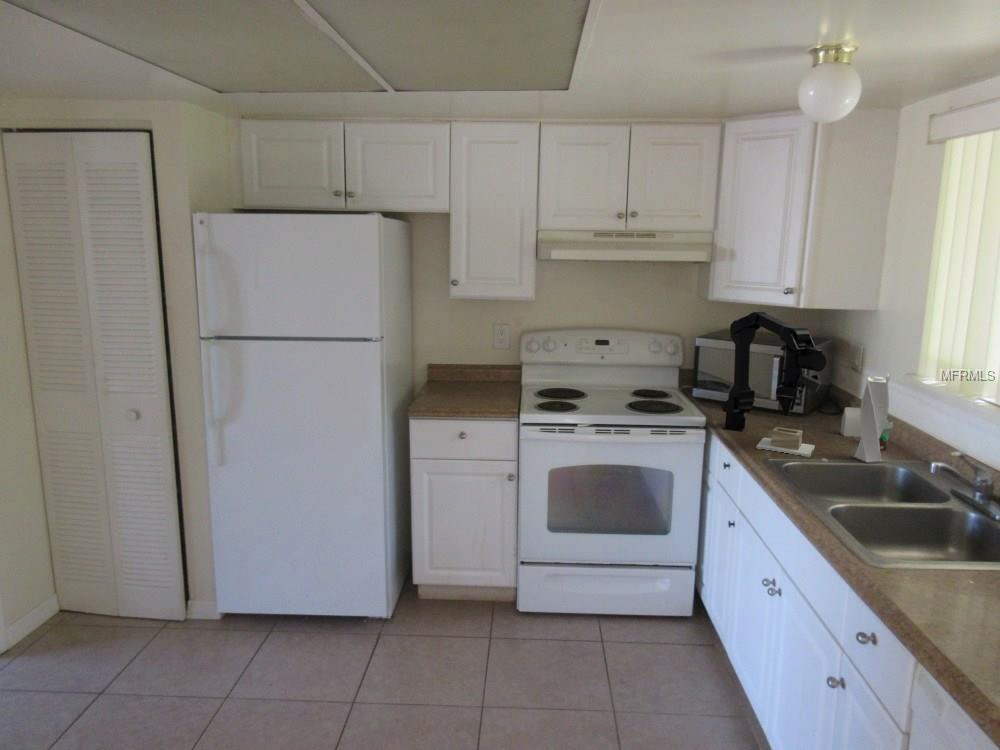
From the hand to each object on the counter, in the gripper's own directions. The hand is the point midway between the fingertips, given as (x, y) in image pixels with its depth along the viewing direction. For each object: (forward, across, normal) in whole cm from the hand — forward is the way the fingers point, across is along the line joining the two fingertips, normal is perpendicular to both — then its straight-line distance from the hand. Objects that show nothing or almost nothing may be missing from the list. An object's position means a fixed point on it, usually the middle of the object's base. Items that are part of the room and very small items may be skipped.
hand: (788, 413), depth 216 cm
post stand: (+12, -1, 0) cm, 12 cm away
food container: (+12, +19, -26) cm, 35 cm away
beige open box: (+11, -1, 0) cm, 11 cm away
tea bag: (+12, +31, -17) cm, 38 cm away
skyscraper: (+12, +1, -24) cm, 27 cm away
